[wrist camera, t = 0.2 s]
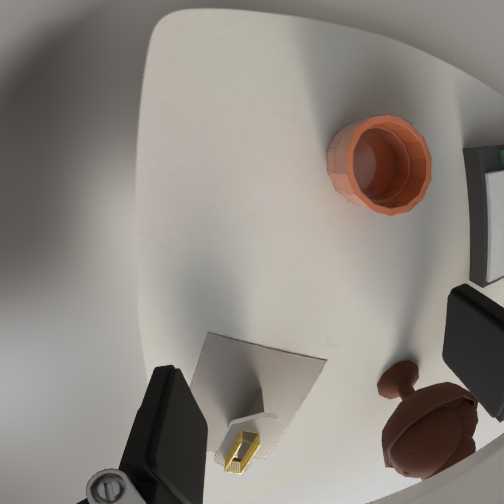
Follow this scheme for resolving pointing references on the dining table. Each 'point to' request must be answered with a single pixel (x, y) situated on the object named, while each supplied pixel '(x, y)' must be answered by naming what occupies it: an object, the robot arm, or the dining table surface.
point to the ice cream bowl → (426, 423)
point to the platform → (249, 397)
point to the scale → (486, 212)
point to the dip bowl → (380, 164)
